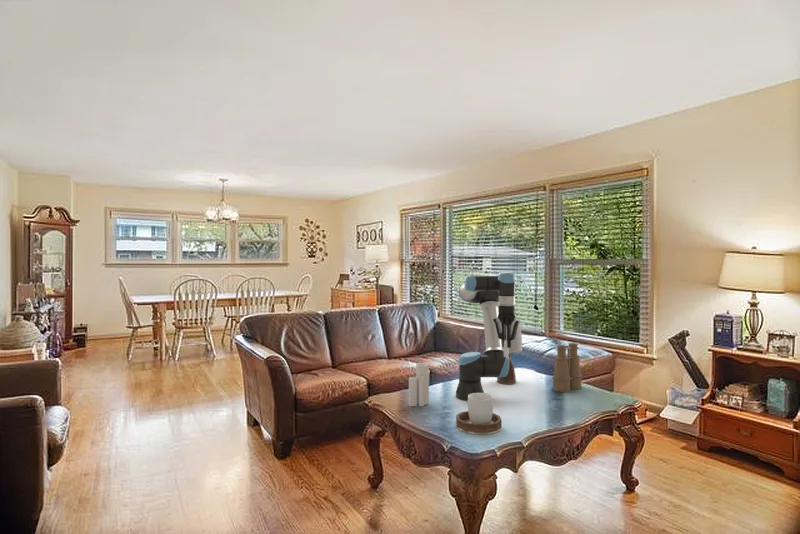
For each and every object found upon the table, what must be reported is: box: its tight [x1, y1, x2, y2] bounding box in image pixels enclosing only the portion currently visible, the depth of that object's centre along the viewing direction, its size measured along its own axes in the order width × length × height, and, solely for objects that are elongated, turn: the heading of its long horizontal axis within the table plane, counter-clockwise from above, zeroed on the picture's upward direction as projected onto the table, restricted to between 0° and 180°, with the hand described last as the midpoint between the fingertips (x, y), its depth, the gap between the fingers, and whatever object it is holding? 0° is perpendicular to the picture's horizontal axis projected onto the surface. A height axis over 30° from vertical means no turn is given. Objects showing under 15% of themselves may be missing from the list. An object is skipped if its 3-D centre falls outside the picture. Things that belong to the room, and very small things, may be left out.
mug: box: [467, 392, 494, 424], centre depth 209 cm, size 15×11×13 cm
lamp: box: [496, 320, 523, 385], centre depth 282 cm, size 19×19×37 cm
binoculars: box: [551, 342, 583, 393], centre depth 269 cm, size 21×10×25 cm, turn 125°
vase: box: [408, 362, 430, 407], centre depth 240 cm, size 11×7×20 cm, turn 135°
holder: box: [455, 410, 503, 435], centre depth 209 cm, size 20×20×4 cm
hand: (506, 354), depth 224 cm, fingers closed
